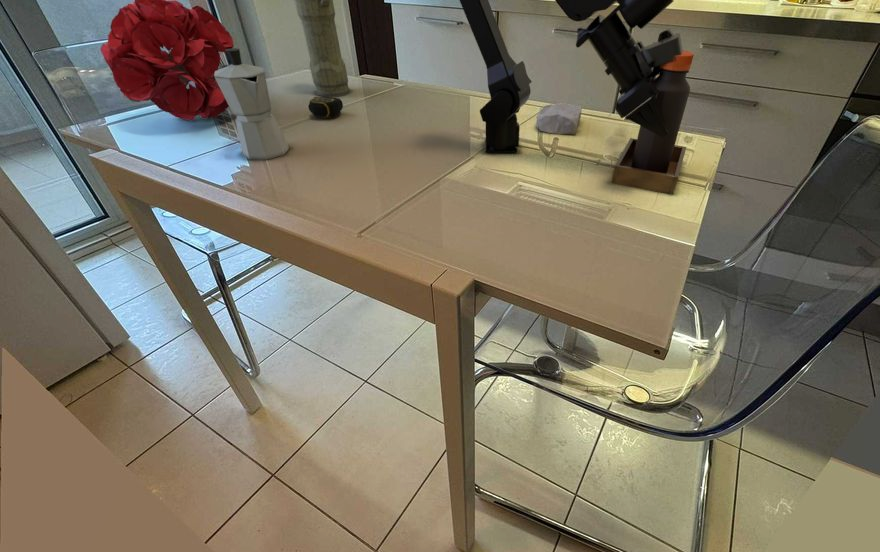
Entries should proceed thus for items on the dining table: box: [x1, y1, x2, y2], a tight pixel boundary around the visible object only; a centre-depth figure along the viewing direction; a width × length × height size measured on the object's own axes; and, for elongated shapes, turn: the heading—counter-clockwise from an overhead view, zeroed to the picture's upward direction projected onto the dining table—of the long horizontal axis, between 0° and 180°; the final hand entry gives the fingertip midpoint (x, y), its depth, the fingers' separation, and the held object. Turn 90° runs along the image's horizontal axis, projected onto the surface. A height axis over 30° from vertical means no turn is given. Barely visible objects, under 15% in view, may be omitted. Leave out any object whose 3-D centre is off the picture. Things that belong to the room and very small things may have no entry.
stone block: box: [536, 102, 583, 135], centre depth 103 cm, size 12×5×10 cm
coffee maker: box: [214, 47, 290, 161], centre depth 83 cm, size 15×9×18 cm, turn 47°
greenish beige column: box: [294, 0, 350, 98], centre depth 109 cm, size 9×12×35 cm
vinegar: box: [631, 49, 695, 174], centre depth 78 cm, size 7×7×20 cm
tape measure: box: [308, 96, 344, 119], centre depth 104 cm, size 7×7×4 cm
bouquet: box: [99, 0, 235, 122], centre depth 99 cm, size 22×24×30 cm
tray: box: [611, 137, 687, 195], centre depth 84 cm, size 11×15×3 cm
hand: (667, 126), depth 79 cm, fingers open, 9 cm apart
